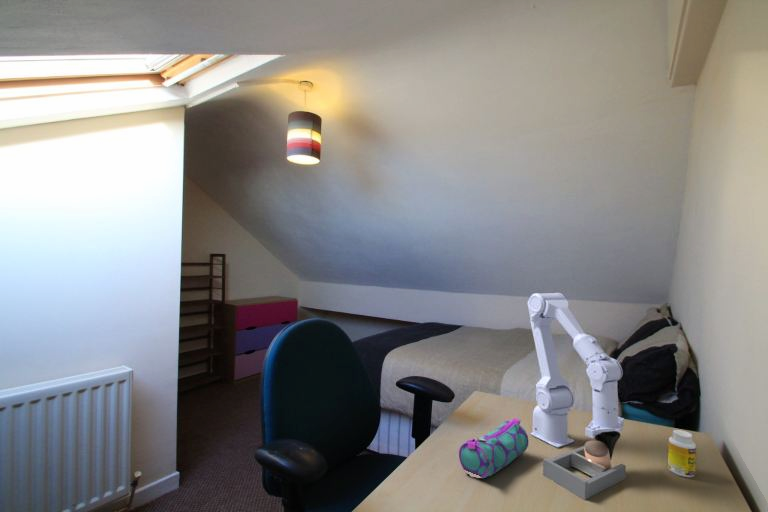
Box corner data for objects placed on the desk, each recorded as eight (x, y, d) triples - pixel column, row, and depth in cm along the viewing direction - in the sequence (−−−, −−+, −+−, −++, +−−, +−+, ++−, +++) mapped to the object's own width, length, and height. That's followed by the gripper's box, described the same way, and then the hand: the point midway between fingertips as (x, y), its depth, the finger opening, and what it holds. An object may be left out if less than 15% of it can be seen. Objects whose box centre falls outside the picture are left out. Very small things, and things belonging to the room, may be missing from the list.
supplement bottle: (690, 481, 95) (691, 440, 95) (664, 470, 99) (665, 431, 99) (698, 474, 98) (699, 434, 98) (673, 464, 102) (674, 426, 102)
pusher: (570, 465, 100) (571, 452, 100) (573, 464, 100) (573, 451, 100) (602, 482, 92) (603, 468, 92) (605, 481, 93) (605, 467, 93)
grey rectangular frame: (543, 474, 96) (543, 459, 96) (583, 457, 105) (583, 443, 105) (584, 499, 87) (585, 482, 87) (625, 478, 95) (625, 462, 95)
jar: (582, 469, 100) (578, 446, 99) (597, 459, 102) (593, 436, 101) (602, 482, 95) (597, 457, 94) (617, 471, 97) (613, 447, 96)
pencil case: (487, 489, 90) (488, 448, 90) (457, 472, 97) (458, 435, 97) (530, 458, 104) (530, 423, 104) (500, 445, 111) (501, 412, 111)
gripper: (604, 417, 92) (605, 474, 92) (636, 405, 99) (637, 458, 99) (577, 407, 98) (578, 461, 98) (608, 397, 105) (609, 447, 105)
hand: (605, 459), depth 99 cm, fingers closed, pressing on jar
